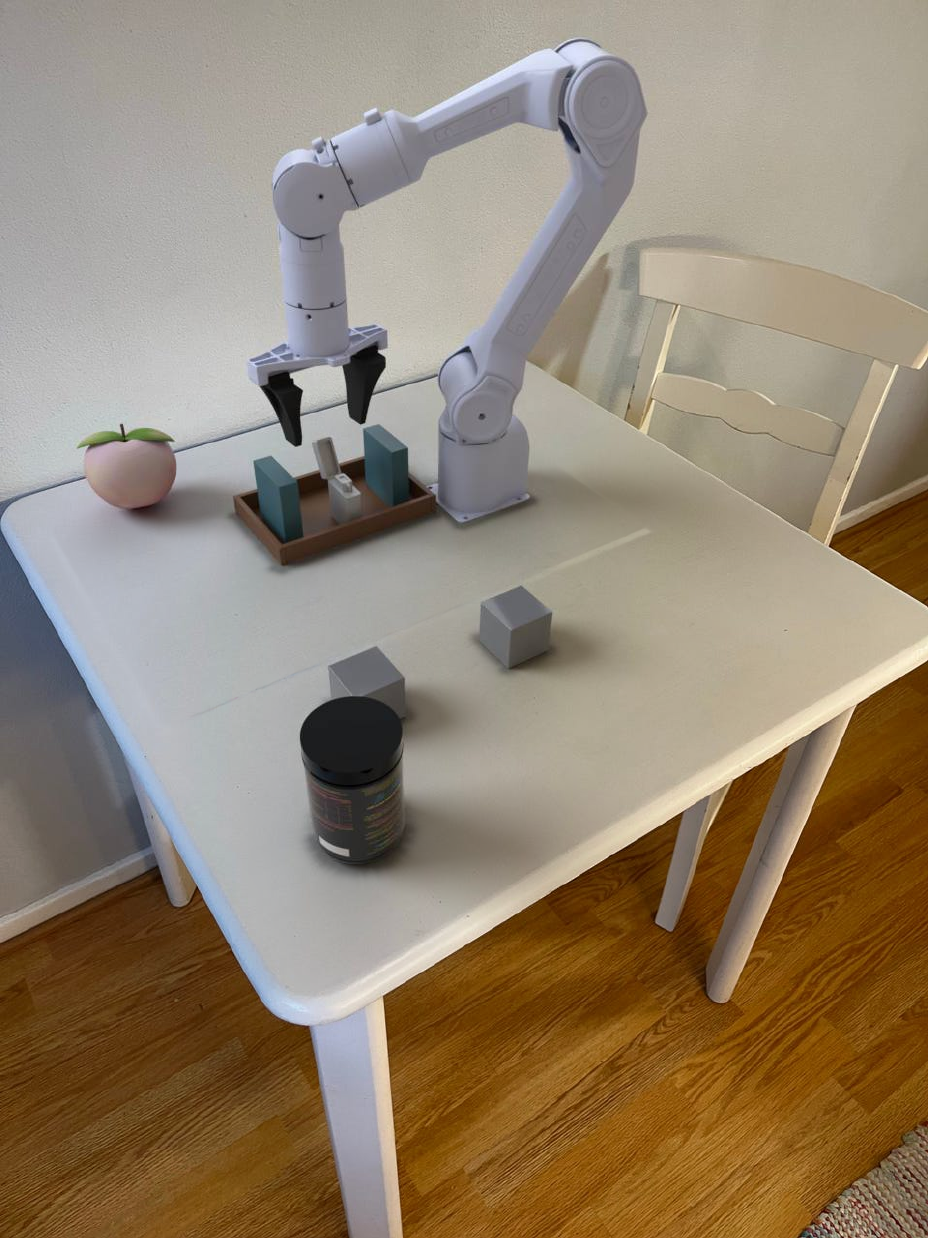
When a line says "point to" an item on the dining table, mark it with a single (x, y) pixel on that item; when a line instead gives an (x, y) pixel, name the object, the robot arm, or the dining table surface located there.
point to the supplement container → (354, 778)
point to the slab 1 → (278, 499)
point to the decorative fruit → (130, 466)
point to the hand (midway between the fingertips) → (326, 430)
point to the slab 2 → (386, 465)
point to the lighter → (337, 483)
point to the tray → (317, 516)
